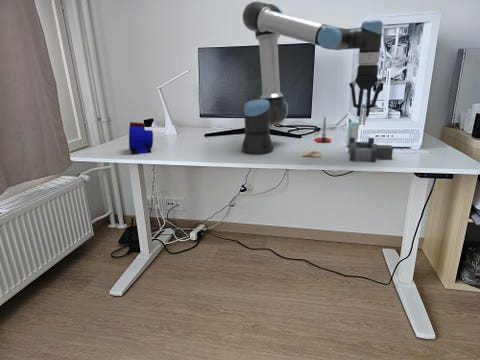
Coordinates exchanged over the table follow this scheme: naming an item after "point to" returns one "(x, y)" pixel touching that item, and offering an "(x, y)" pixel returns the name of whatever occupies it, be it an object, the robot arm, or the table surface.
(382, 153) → the plug
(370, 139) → the housing
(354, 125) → the can
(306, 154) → the cork mat
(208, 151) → the table surface
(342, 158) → the table surface
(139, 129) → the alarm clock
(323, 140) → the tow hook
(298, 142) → the table surface
